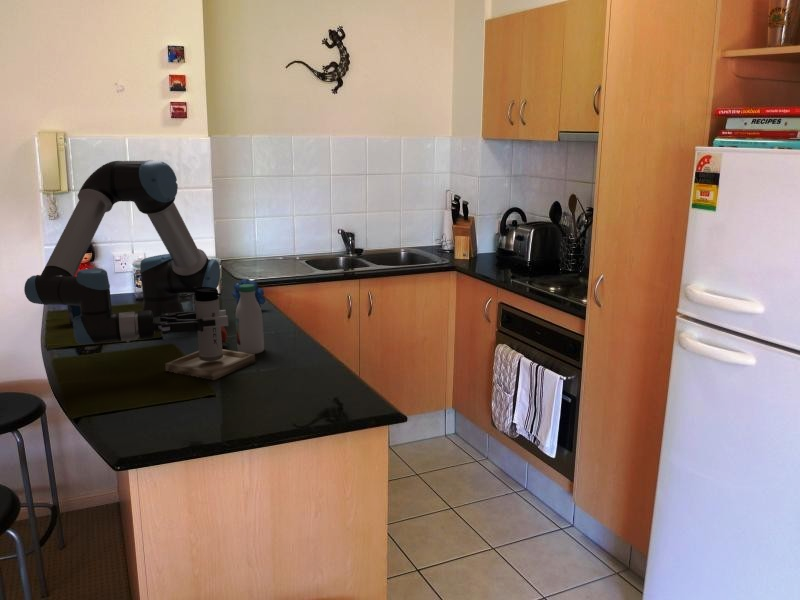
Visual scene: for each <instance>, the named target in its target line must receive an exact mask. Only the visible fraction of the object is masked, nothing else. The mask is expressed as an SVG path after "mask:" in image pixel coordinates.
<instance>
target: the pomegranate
mask: <svg viewBox="0 0 800 600" xmlns="http://www.w3.org/2000/svg"><path fill="white" fill-rule="evenodd" d="M221 337H222V347H223V346H224V343H225V344H227V345H230V344H229V343H228V342H226V341H227V340H228V332H227V329H226V328H225V326H222V327H221Z"/></svg>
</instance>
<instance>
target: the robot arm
mask: <svg viewBox="0 0 800 600" xmlns="http://www.w3.org/2000/svg"><path fill="white" fill-rule="evenodd" d="M178 189H179V187H178V183H177V176H176V174H175V171H174V169H172V167H171V166H170V165H169V164H167V162H165V161H160V160H153V159H148V160H113V161H110V162H107V163H105V164H102V165H101V166H99V167H98V168H97V169H96V170H94V172H93V173H91V174H90V175H89V176H88V177H87V179H86V180H85V181H84V183H83V184H82V185H81V187H80V189H79V191H78V193H77V198H78V202H77V203H76V206H75V208H74V209H73V211H72V213H71V216H70V218H69V219H68V221H67V223H66V225H65V227H64V229H63V231H62V233H61V235H60V237H59V239H58V241H57V242H56V245H55V247H54V249H53V251H52V253H51V255H50V256H49V258H48V260H47V263H46V264H45V266H44V268H43V270H42V272H41V274H36V275H31V276H30V277H29V278H27V279H26V281H25V284H24V289H23V291H24V295H25V297H26V299H27V300H28V301H29V302H30V303H31V304H37V305H44V306H48V305H52V306H53V305H57V306H58V305H61V306H68V305H79V306H80V309H81V310H80V311H81V315H79V316H76V317H75V318H74V320H73V326H72V327H73V335H74V336H73V337H74V340H75V342H76V343H77V344H79V345H97V344H105V343H114V342H123V341H124V342H126V343H130V341H135V340H138V338H139V339H141V340H148V339H154V338H155V332H161V334H162V335H167V334H172V333H183V332H184V333H185V332H186V333H187V332H197V331H201V332H202V331H204V330H203V328H210V327H222V326H223V327H229V317H228V315H227V311H226V309H220V316H217V317H205V318H203V319H196V309H195V310H186V311H185V310H184V307H183V304H182V303H181V299H180V294H185V295H187V294H188V295H195V291H193V288H194V287H212V288H216V289H217V290H218V287H219V283H220V281H221V280H220V279H221V267H220V262H219V261H218V260H217V259H214V258H211V259H209V258H208V256H207V254H206V252H205V251H204V250H202V249H200V248H198V246H197V245H196V243H195V241H194V239H193V236H192V235H191V233H190V231H189V229H188V227H187V225H186V224H185V222H184V219H183V217H182V216H181V214H180V211H179V210H178V208H177V206H176V204H175V200H176V196H177V195H178V194H177V193H178ZM119 202H132V203H134V204H135V206H136V208H137V209H138V211H139V212H140V213H141V214H145V215H147V216H148V218H149V220H150V222H151V223H152V225H153V228H154V229H155V231H156V232H157V234H158V237H159V238H160V240H161V241H162V243H163V245H164V247H165V249H166V250H167V252H168V253H164V254H158V255H154V256H153V255H152V256H149V257H145V258H143V259H142V260H141V261H140V268H139V269H140V271H139V272H140V280H141V289H142V297H143V298H142V299H143V303H142V308H141V310H139V311H138V312H137V313H136V312H135V311H126V312H125V311H124V312H113V306H112V299H111V286H110V285H111V284H110V281H109V275H108V271H107V270H105V269H103V268H97V267H95V268H84V269H83V268H82V269H80V270H79V268H80V266H81V263H82V261H83V259H84V257H85V255H86V253H87V251H88V250H89V248H90V245H91V243H92V241H93V239H94V237H95V235H96V233H97V230H98V229H99V227H100V225H101V223H102V221H103V218H104V216H105V214H106V213H108V212H110V211H111V210H112V209H113V207H114V205H115V204H116V203H119Z"/></svg>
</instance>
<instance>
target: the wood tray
mask: <svg viewBox="0 0 800 600" xmlns="http://www.w3.org/2000/svg"><path fill="white" fill-rule="evenodd" d="M222 352H223V357H222V358H221V359H219V360H215V361H203V360H201V359H200V358H199V350H197V351H194V352H191V353H190V354H186V355H184V356H180V357H179V358H176V359H174V360H171V361H169V362H168V361H167V362H166V363H164V364H165V366H164V367H165V371H166V372H167V371H169V372H168V373H172V372H174V373H173V374H178V373H180V374H179V375H183V374H185V376H189V375H191V376H190V377H194V376H196V378H199V377H201V378H200V379H205V378H206V379H207V380H210V379H211V380H212V381H216V380H218V379H220V378H222V377H225V376H226V375H230V374H231V373H233V372H236V371H238V370H241V369H243V368H245V367H247V366H249V365H251V364H254V363H256V354H249V353H243V352H238V350H236V351H235V350H231V349H230V350H229V349H223V348H222Z"/></svg>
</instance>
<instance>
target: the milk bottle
mask: <svg viewBox="0 0 800 600" xmlns="http://www.w3.org/2000/svg"><path fill="white" fill-rule="evenodd" d="M239 293H240V300H239V303H238V305H236V309H235V332H236V333H235V334H236V344H237V346H236V347H237V348H236V349H237V352H243V353H249V354H255V355H258V354H260V353H263V352H264V350H265V338H264V323H263V313H262V309H261V308H262V307H261V308H260V306H259V304H258V302H257V300H256V297H255V285H253V284H243V285H240V286H239Z"/></svg>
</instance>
